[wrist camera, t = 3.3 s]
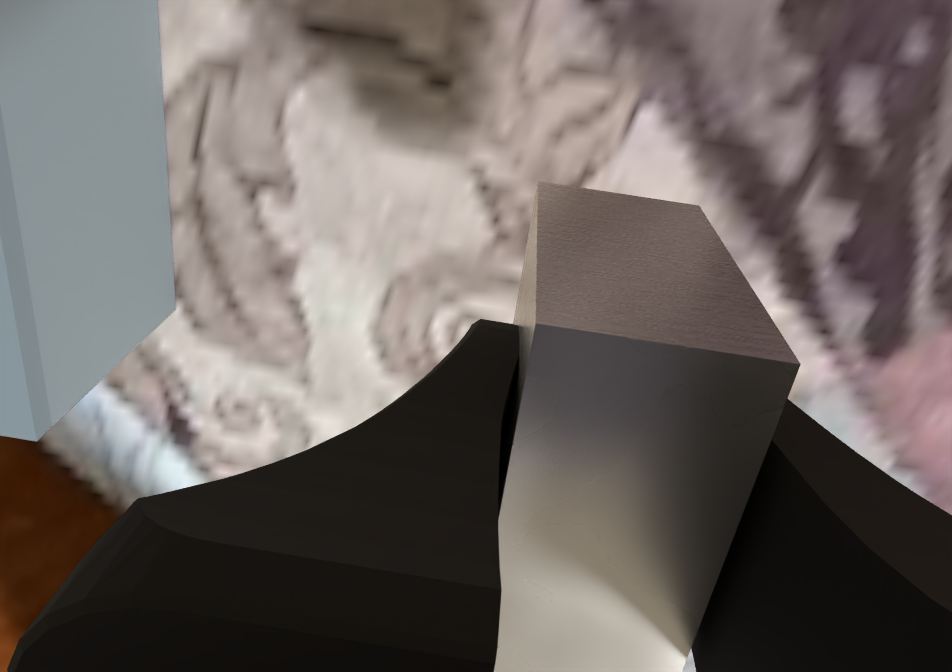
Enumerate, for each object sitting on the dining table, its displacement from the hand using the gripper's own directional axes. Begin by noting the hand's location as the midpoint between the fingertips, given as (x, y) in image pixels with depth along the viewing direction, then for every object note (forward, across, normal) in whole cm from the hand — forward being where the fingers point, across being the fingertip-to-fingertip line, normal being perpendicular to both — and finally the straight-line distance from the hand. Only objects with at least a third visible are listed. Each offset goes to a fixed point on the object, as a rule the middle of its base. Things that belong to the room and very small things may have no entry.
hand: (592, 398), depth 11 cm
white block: (+2, 0, 0) cm, 2 cm away
